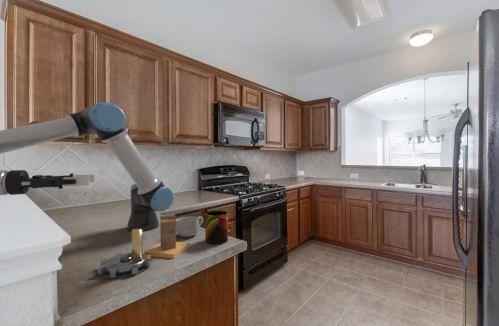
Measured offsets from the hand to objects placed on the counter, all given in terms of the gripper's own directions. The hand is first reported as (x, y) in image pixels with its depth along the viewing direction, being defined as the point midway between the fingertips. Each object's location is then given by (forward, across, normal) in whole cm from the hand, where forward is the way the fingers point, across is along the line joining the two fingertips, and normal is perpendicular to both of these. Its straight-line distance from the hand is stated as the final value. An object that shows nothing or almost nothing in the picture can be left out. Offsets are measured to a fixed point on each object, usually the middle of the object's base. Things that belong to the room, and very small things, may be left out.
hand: (92, 179), depth 81 cm
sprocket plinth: (+10, +12, -28) cm, 32 cm away
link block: (+24, +4, -27) cm, 36 cm away
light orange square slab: (+24, +4, -28) cm, 38 cm away
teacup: (+37, -12, -29) cm, 48 cm away
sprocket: (+10, +12, -28) cm, 32 cm away
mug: (+45, -1, -29) cm, 53 cm away
